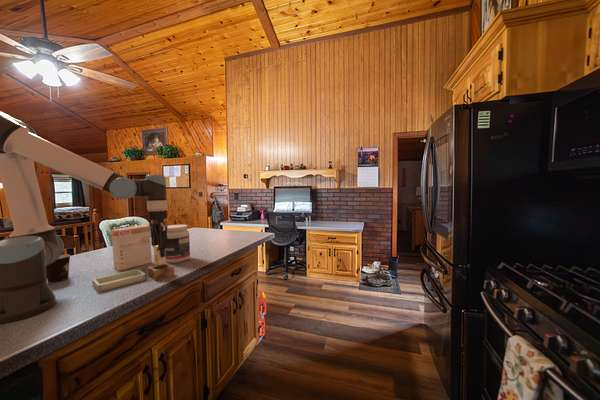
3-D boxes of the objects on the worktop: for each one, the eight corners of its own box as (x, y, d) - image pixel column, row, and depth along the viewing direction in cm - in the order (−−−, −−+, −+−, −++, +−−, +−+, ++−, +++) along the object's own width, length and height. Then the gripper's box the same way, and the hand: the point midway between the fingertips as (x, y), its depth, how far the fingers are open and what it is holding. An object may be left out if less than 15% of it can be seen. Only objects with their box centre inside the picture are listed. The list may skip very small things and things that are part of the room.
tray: (98, 292, 94) (98, 285, 94) (92, 285, 101) (92, 279, 101) (146, 279, 106) (145, 273, 106) (137, 274, 114) (137, 268, 113)
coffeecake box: (146, 260, 135) (144, 224, 134) (152, 262, 131) (150, 225, 130) (113, 268, 123) (110, 229, 122) (118, 271, 119) (116, 230, 118)
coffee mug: (54, 284, 103) (52, 260, 103) (38, 283, 105) (36, 259, 105) (83, 274, 115) (82, 253, 114) (68, 273, 117) (67, 252, 116)
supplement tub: (158, 262, 131) (156, 227, 130) (178, 255, 143) (176, 223, 142) (176, 264, 126) (174, 228, 125) (195, 257, 138) (194, 224, 137)
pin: (157, 276, 108) (155, 246, 107) (154, 274, 110) (152, 245, 110) (167, 274, 111) (165, 245, 110) (163, 272, 113) (162, 243, 113)
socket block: (154, 280, 105) (154, 271, 105) (148, 276, 110) (147, 267, 110) (174, 275, 111) (174, 266, 111) (167, 271, 116) (166, 262, 116)
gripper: (174, 210, 106) (177, 264, 108) (159, 208, 118) (161, 257, 119) (155, 212, 101) (158, 269, 102) (141, 210, 112) (143, 261, 113)
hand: (160, 263), depth 110 cm, fingers closed on pin, 4 cm apart
